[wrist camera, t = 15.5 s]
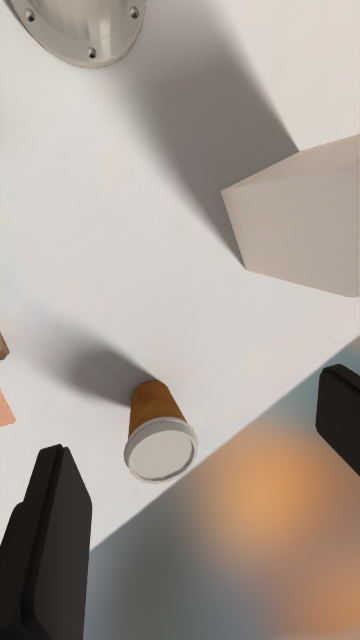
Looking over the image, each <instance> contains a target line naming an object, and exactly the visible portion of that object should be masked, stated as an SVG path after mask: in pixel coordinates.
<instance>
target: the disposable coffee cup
mask: <svg viewBox="0 0 360 640" xmlns="http://www.w3.org/2000/svg"><path fill="white" fill-rule="evenodd" d="M197 447H198V437H197V434H196V432H195V430H194V429H193V428H192V427H191V426H190V425H189V424H188V423H187V421H186V420H185V418H184V416H183V414H182V412H181V411H180V409H179V407H178V405H177V404H176V402H175V400H174V398H173V397H172V395H171V393H170V391H169V389H168V387H167V386H166V385H165V384H163V383H161V382H158V381H149V382H145V383H143V384H141V385H140V386H138V387H137V388H136V389H135V391H134V392H133V395H132V403H131V413H130V424H129V435H128V441H127V443H126V446H125V450H124V460H125V463H126V465H127V467H128V468H129V469H130V472H131V473H132V474H133V476H134V477H135V478H136V479H138V480H140V481H142V482H145V483H150V484H158V483H164V482H169V481H171V480H174V479H176V478H178V477H180V476H181V475H183V474H184V473H185V472H186V471H188V470H189V468H190V467H191V466H192V465H193V463H194V461H195V459H196V456H197Z"/></svg>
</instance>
